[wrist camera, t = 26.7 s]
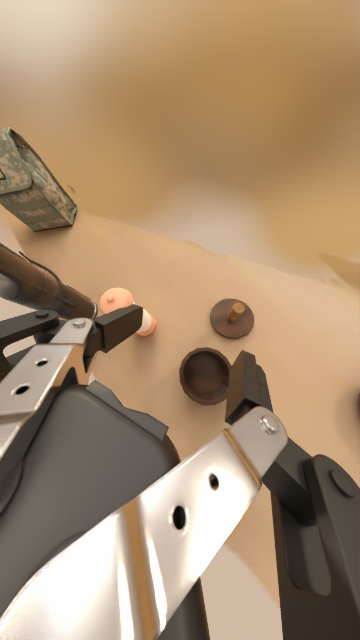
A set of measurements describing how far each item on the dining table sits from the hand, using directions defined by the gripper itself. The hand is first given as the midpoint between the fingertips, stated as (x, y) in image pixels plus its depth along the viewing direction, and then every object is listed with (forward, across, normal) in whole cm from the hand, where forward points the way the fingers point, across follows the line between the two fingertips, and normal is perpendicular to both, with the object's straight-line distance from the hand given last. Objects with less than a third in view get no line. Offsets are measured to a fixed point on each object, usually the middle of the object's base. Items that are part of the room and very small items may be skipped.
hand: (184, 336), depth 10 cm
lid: (+32, -6, +10) cm, 34 cm away
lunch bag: (+45, +90, -1) cm, 100 cm away
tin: (+20, -4, +23) cm, 31 cm away
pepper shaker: (+23, +18, +20) cm, 36 cm away
